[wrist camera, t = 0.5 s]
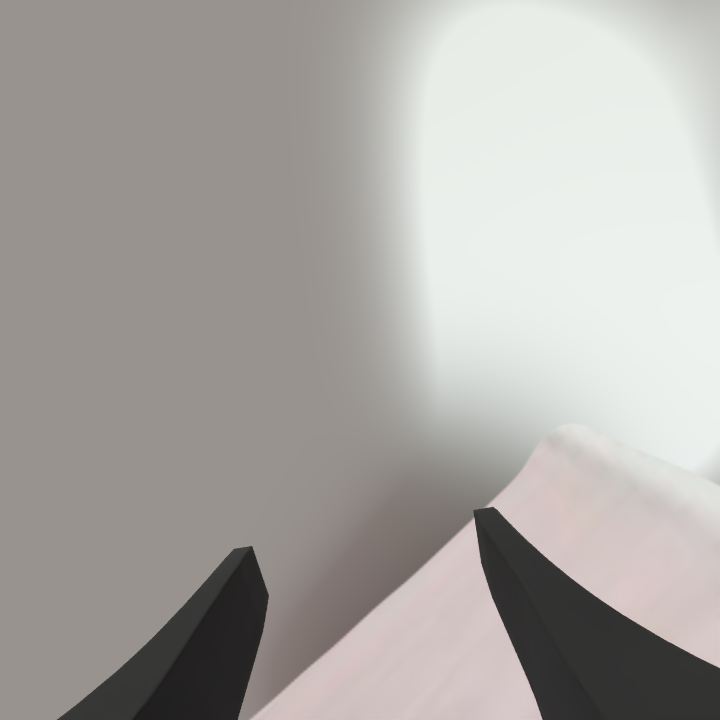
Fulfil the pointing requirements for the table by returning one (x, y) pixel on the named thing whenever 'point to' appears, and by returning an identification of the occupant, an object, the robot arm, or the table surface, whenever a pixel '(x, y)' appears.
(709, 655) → the table surface
